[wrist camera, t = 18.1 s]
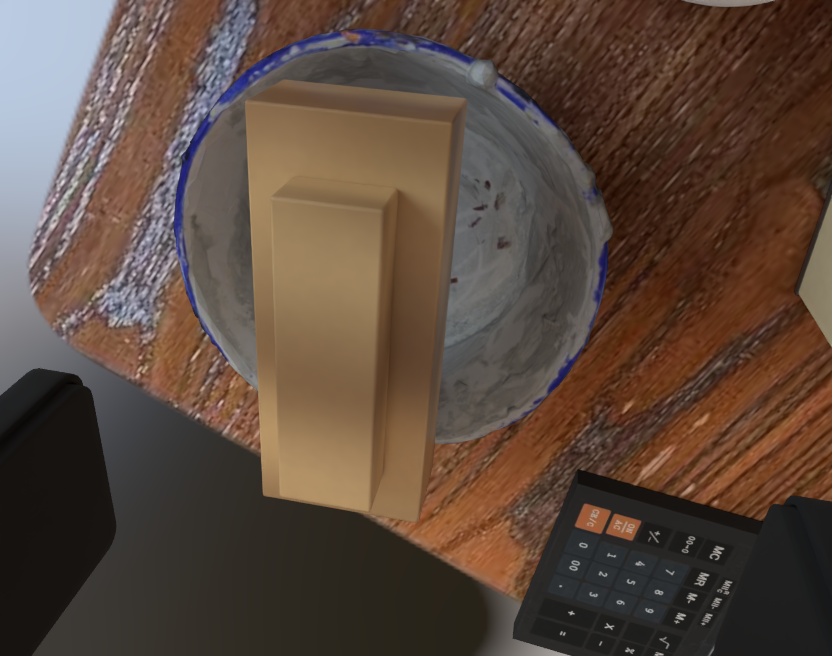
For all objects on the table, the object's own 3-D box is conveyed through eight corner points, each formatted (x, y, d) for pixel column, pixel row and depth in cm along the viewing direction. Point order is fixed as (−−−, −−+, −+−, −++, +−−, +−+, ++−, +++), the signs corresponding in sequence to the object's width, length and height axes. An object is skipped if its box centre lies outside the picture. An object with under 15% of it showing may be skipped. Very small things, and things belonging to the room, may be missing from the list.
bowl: (236, -22, 23) (164, -9, 19) (651, 56, 22) (670, 87, 18) (226, 334, 30) (170, 402, 25) (547, 407, 29) (544, 491, 24)
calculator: (577, 469, 30) (577, 522, 27) (870, 552, 29) (900, 614, 26) (514, 622, 34) (509, 680, 32) (765, 697, 34) (781, 762, 31)
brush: (301, 68, 19) (214, 115, 15) (475, 85, 19) (442, 141, 14) (305, 415, 25) (242, 533, 20) (440, 437, 24) (408, 564, 19)
